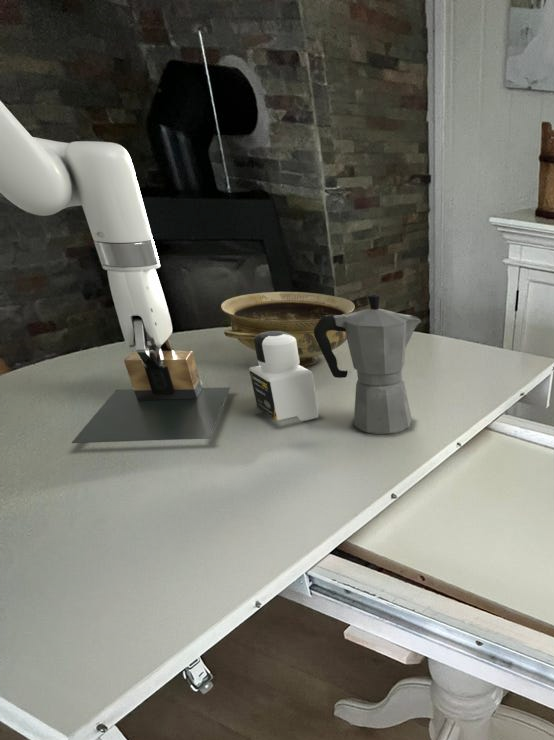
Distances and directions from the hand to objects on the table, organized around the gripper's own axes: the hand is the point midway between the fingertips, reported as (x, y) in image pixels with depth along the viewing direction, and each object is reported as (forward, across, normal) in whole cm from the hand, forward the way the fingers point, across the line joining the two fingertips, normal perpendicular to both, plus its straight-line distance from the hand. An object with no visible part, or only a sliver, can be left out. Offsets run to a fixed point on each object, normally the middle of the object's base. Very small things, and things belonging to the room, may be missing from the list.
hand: (168, 386), depth 95 cm
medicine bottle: (+3, +8, +19) cm, 21 cm away
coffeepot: (+3, +12, +33) cm, 35 cm away
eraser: (+1, 0, 0) cm, 1 cm away
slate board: (+2, +8, 0) cm, 8 cm away
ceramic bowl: (+3, -22, +19) cm, 29 cm away
